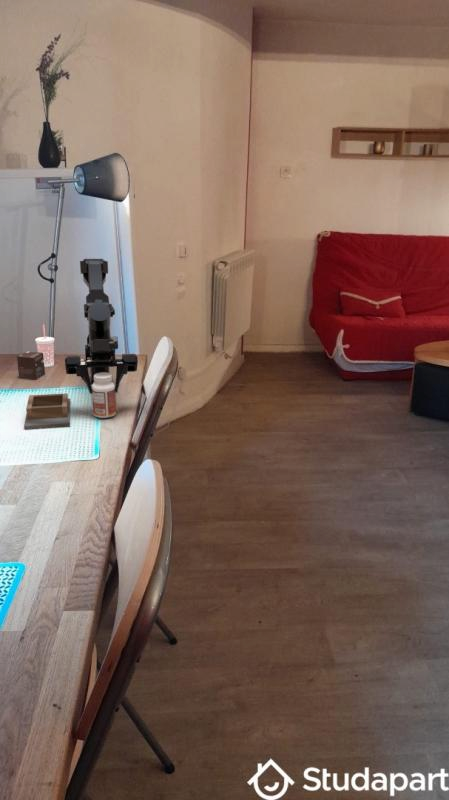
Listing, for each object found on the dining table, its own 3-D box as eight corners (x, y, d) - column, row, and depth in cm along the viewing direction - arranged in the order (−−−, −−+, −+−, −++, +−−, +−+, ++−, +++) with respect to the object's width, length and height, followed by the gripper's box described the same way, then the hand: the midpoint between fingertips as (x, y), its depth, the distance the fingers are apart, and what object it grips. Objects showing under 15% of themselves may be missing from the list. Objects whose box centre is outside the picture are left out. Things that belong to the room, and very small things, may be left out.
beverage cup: (39, 362, 193) (35, 322, 188) (57, 362, 194) (54, 322, 189) (35, 367, 188) (32, 326, 183) (54, 367, 188) (51, 326, 183)
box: (35, 380, 176) (33, 357, 173) (18, 378, 177) (16, 356, 174) (45, 374, 181) (43, 352, 179) (28, 372, 182) (26, 350, 180)
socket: (29, 403, 156) (28, 390, 155) (70, 401, 159) (69, 388, 158) (24, 429, 140) (22, 414, 139) (69, 426, 143) (68, 412, 141)
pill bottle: (113, 408, 154) (111, 370, 150) (119, 416, 149) (117, 377, 145) (90, 411, 152) (88, 372, 148) (96, 420, 147) (93, 380, 143)
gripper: (62, 326, 143) (64, 381, 137) (136, 324, 148) (141, 377, 142) (65, 347, 153) (67, 399, 147) (134, 345, 158) (139, 395, 152)
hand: (103, 392), depth 147 cm, fingers closed on pill bottle, 6 cm apart
